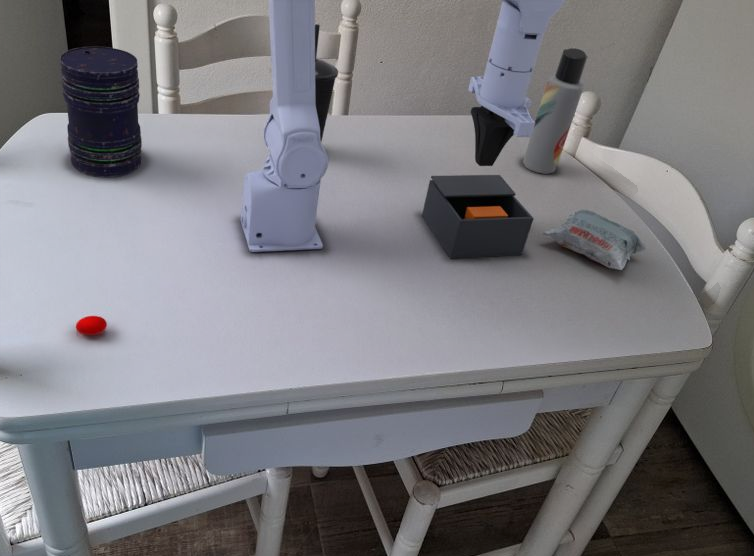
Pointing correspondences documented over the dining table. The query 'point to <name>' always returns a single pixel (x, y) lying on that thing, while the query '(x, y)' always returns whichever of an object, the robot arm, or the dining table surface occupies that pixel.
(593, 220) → the packaged food
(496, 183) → the bin flap
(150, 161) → the dining table surface
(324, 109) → the drinking cup
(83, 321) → the candy
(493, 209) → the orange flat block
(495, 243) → the bin
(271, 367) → the dining table surface
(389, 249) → the dining table surface
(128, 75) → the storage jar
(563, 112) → the lotion bottle
